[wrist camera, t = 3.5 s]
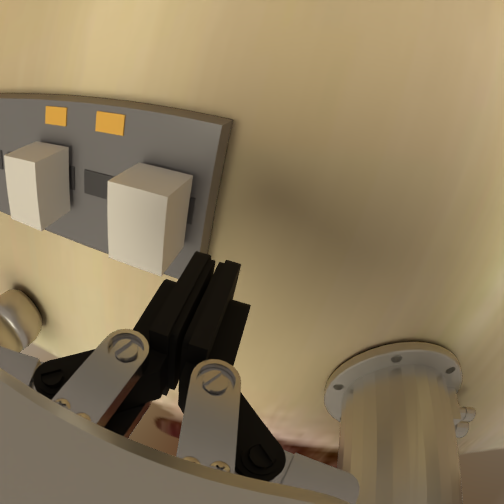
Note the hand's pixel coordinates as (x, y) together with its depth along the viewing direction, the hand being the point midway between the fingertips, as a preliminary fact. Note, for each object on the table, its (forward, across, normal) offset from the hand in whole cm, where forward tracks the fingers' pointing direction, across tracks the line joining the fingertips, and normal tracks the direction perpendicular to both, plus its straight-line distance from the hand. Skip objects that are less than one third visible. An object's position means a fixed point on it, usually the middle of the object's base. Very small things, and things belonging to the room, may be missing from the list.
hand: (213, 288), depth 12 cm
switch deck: (+8, +15, +1) cm, 17 cm away
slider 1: (+6, +13, +1) cm, 15 cm away
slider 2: (+6, +5, +1) cm, 7 cm away
